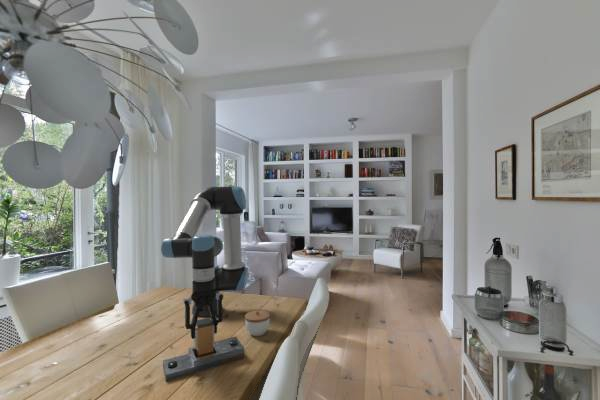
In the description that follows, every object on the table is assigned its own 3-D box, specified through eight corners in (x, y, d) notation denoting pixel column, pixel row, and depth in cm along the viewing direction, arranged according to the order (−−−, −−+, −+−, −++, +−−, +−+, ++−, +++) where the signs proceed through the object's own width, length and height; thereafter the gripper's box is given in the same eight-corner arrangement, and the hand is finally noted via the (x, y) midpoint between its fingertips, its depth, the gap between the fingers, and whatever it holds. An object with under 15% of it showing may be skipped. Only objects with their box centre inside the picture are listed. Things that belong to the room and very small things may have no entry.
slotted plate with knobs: (162, 366, 102) (162, 352, 102) (235, 346, 115) (235, 335, 115) (166, 381, 94) (165, 366, 94) (244, 358, 107) (244, 345, 107)
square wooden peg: (195, 354, 105) (195, 320, 105) (209, 350, 108) (209, 317, 108) (198, 360, 101) (198, 325, 101) (213, 356, 103) (212, 322, 104)
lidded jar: (265, 339, 121) (265, 316, 121) (241, 337, 123) (240, 315, 123) (273, 328, 132) (272, 307, 132) (250, 326, 134) (250, 306, 134)
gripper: (177, 285, 97) (178, 356, 97) (231, 277, 106) (232, 342, 106) (174, 280, 103) (175, 346, 103) (225, 273, 112) (226, 334, 112)
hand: (204, 344), depth 104 cm, fingers closed on square wooden peg, 5 cm apart
